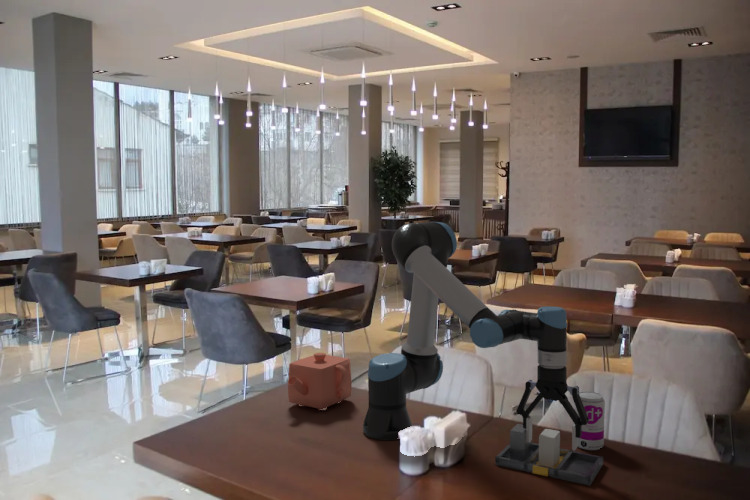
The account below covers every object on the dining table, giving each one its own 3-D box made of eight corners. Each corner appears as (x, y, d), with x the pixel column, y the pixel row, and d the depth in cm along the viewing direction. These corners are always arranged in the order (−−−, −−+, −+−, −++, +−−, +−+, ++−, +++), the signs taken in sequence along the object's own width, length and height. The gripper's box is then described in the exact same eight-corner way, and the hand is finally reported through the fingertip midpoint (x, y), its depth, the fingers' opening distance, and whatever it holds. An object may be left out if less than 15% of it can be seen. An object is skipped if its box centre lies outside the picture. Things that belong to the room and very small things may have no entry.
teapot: (317, 423, 209) (316, 368, 208) (265, 410, 222) (264, 359, 220) (361, 402, 230) (361, 352, 229) (311, 391, 242) (310, 344, 241)
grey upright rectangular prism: (538, 464, 175) (539, 435, 174) (545, 456, 180) (545, 428, 179) (553, 467, 173) (553, 438, 172) (559, 459, 178) (560, 431, 177)
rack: (494, 465, 176) (494, 434, 175) (513, 446, 189) (514, 417, 189) (589, 486, 163) (590, 453, 162) (603, 464, 176) (603, 433, 176)
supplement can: (605, 452, 185) (607, 400, 183) (575, 450, 186) (576, 398, 185) (601, 441, 193) (602, 391, 191) (572, 439, 194) (573, 390, 193)
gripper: (504, 363, 177) (504, 441, 179) (594, 374, 165) (594, 457, 166) (513, 357, 183) (513, 432, 185) (601, 367, 171) (600, 447, 173)
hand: (551, 444), depth 176 cm, fingers open, 12 cm apart
